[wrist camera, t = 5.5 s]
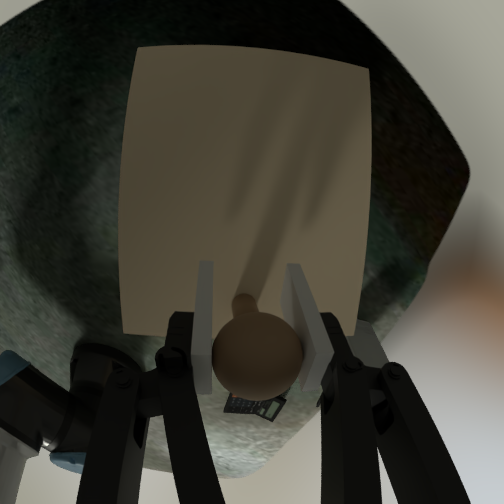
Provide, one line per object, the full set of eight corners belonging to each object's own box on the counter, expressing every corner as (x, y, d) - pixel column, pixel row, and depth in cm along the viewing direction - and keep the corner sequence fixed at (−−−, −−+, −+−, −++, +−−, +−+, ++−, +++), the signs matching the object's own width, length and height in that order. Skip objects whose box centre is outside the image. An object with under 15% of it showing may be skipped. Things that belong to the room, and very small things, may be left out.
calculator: (231, 388, 56) (231, 400, 54) (285, 391, 59) (287, 402, 56) (223, 409, 61) (223, 420, 58) (272, 411, 63) (274, 422, 61)
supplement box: (338, 312, 48) (363, 372, 37) (370, 321, 50) (397, 375, 39) (315, 342, 51) (334, 400, 40) (347, 348, 53) (368, 402, 42)
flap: (127, 327, 20) (74, 411, 10) (140, 53, 17) (98, -30, 7) (348, 330, 22) (419, 402, 12) (362, 73, 19) (440, 15, 9)
